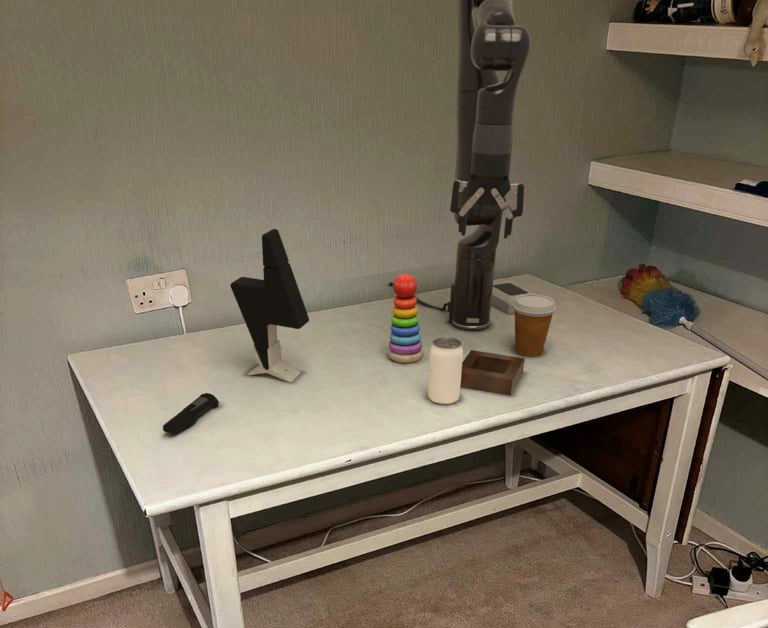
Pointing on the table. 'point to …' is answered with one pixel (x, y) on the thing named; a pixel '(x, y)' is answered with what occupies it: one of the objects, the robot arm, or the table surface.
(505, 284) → the keypad
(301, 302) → the award
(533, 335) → the disposable coffee cup
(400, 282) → the stacking toy
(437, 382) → the can
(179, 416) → the electric trimmer
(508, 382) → the can stand
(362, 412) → the table surface
